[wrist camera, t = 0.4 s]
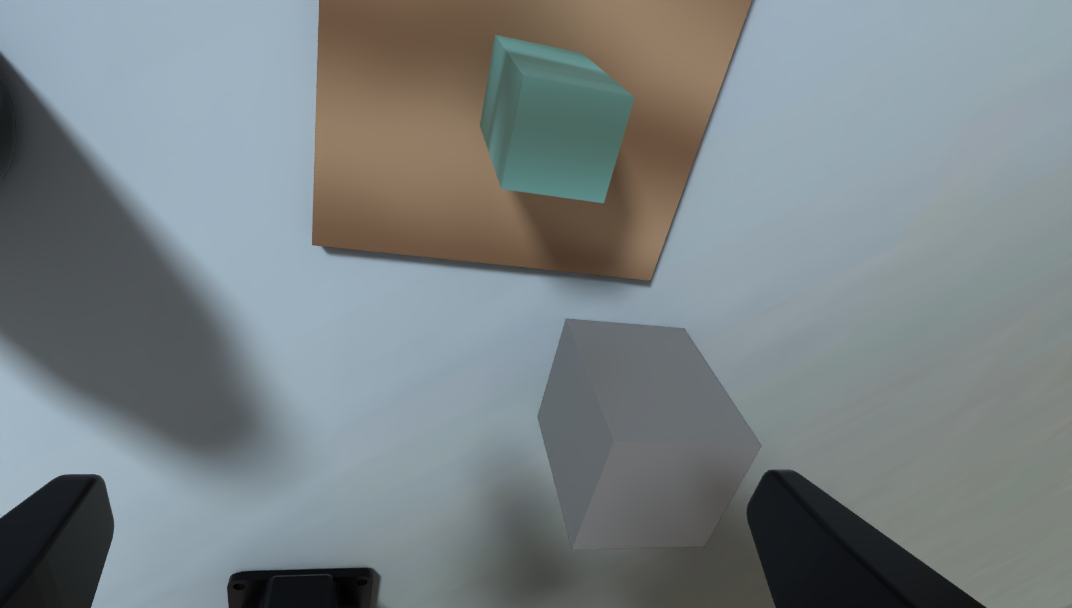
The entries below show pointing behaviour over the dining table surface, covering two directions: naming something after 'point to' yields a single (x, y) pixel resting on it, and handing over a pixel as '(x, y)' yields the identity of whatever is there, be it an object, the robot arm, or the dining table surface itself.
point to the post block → (514, 126)
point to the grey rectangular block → (640, 437)
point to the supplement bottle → (6, 130)
